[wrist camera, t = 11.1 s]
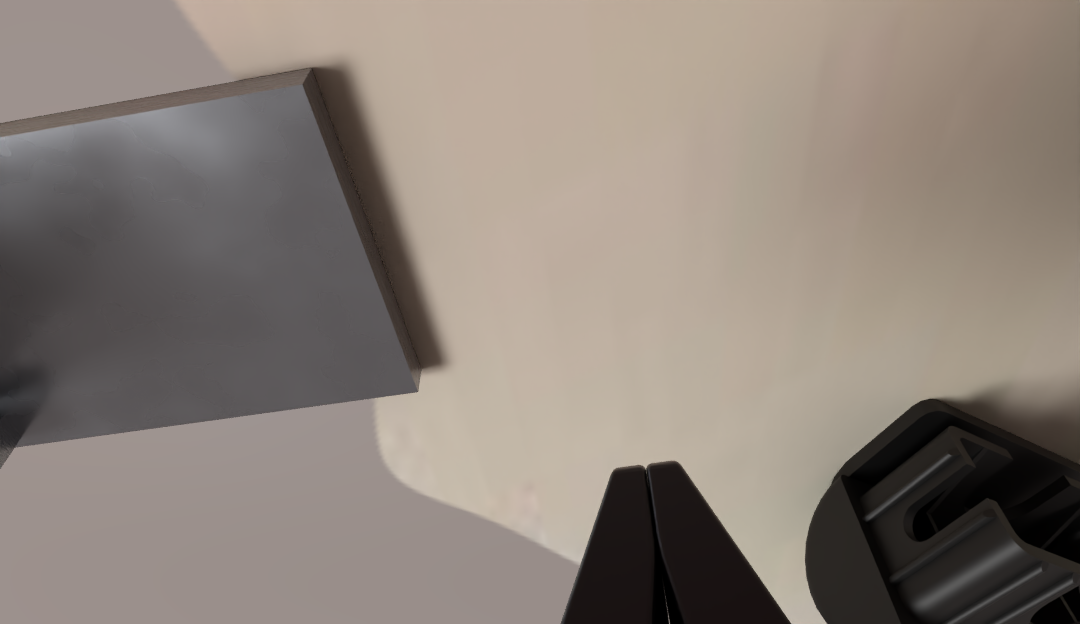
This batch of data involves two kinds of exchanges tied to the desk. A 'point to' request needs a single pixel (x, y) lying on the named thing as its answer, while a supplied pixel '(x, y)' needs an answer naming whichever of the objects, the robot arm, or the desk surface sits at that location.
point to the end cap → (948, 528)
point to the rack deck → (187, 266)
